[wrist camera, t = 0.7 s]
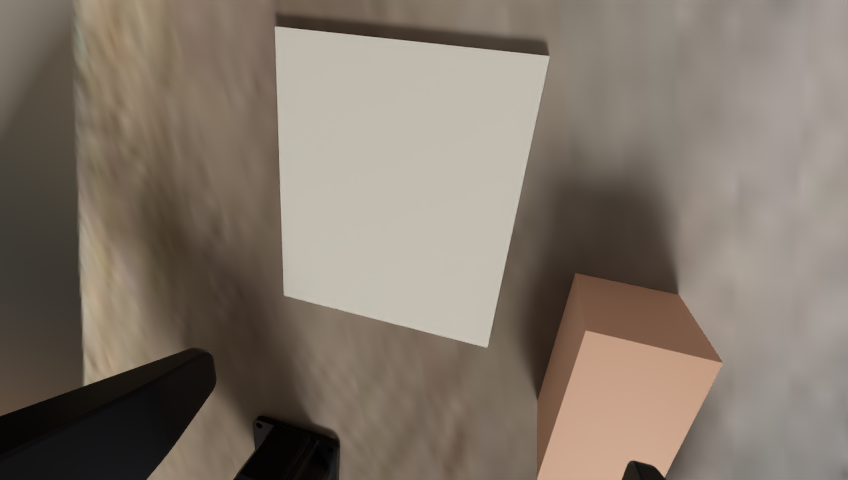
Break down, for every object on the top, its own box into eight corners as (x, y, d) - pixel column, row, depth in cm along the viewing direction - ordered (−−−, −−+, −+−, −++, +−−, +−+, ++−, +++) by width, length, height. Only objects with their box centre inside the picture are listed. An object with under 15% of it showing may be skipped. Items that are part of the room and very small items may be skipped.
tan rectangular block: (623, 422, 21) (645, 514, 17) (537, 398, 22) (536, 479, 18) (677, 293, 18) (722, 362, 14) (574, 271, 19) (585, 330, 15)
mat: (488, 342, 21) (487, 347, 21) (288, 291, 24) (284, 295, 23) (549, 56, 16) (549, 56, 15) (281, 27, 18) (275, 26, 18)
